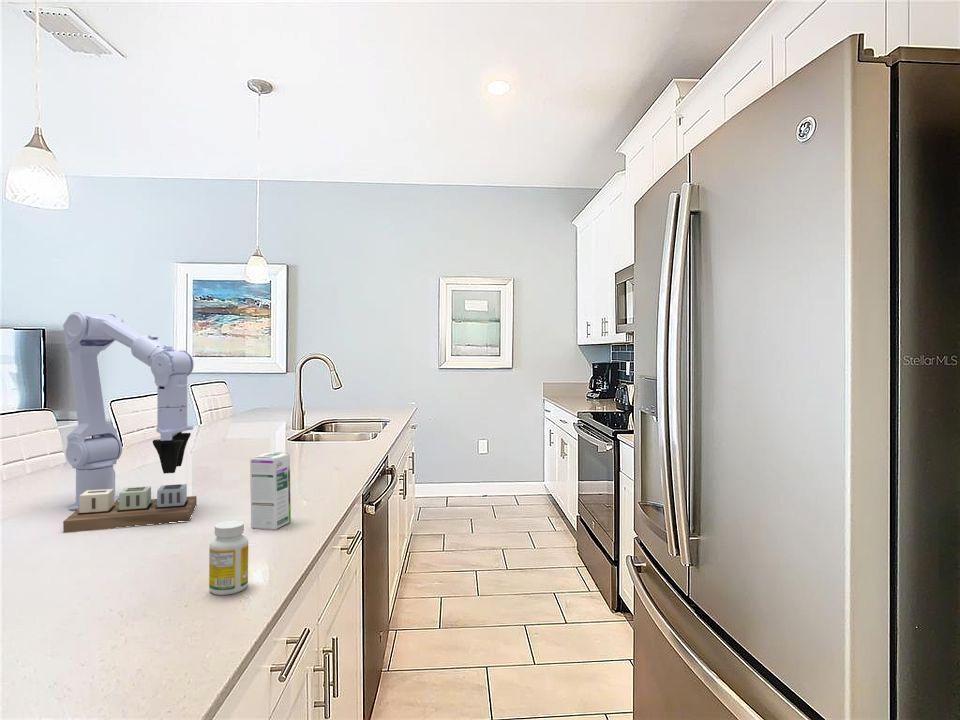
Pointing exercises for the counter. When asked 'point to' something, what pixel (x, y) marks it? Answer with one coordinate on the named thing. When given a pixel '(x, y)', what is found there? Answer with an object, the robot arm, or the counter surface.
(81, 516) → the frame
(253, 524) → the syrup box
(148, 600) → the counter surface
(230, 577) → the supplement bottle
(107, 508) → the tile one
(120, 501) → the tile two
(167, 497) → the tile three
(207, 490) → the counter surface
